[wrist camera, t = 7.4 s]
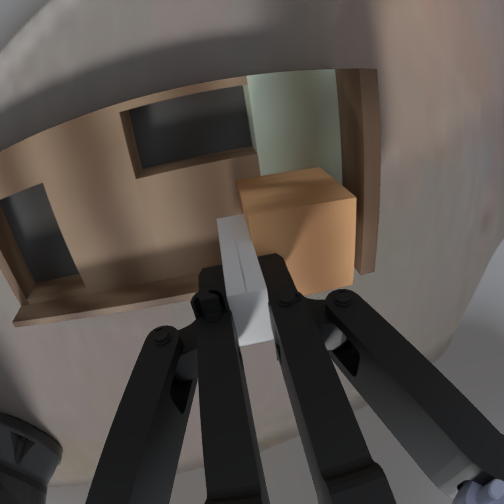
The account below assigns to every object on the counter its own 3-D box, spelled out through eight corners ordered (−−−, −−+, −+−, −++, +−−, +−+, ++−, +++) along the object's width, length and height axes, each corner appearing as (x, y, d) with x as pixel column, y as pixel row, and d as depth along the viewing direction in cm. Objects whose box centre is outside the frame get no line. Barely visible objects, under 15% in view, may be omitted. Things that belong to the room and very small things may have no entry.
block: (248, 254, 20) (261, 304, 16) (235, 180, 18) (247, 216, 13) (322, 239, 20) (352, 284, 16) (319, 166, 18) (356, 197, 14)
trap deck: (34, 291, 22) (11, 336, 17) (-21, 162, 16) (-64, 189, 11) (341, 231, 23) (374, 271, 19) (333, 69, 17) (376, 69, 12)
